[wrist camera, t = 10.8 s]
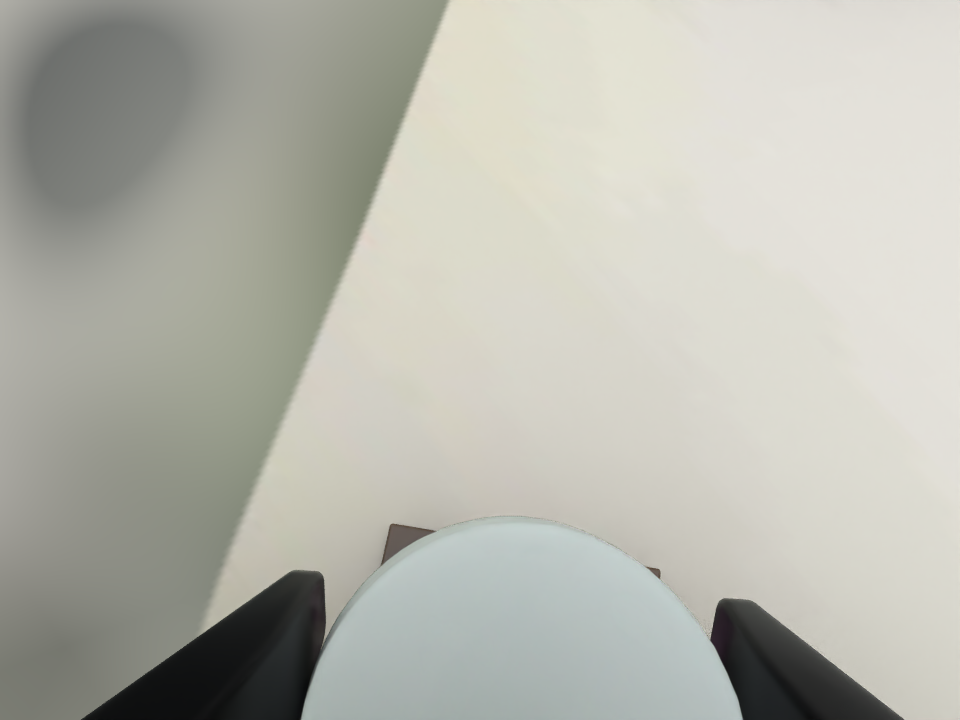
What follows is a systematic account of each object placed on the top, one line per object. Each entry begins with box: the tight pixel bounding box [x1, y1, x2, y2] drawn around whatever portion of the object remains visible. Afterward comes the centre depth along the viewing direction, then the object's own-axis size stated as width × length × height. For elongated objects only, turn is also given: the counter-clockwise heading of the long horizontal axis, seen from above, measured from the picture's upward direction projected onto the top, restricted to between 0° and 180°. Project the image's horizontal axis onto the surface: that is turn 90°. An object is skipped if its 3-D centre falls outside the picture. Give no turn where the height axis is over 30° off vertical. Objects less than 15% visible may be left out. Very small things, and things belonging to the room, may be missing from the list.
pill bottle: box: [301, 516, 743, 720], centre depth 10 cm, size 5×5×10 cm
